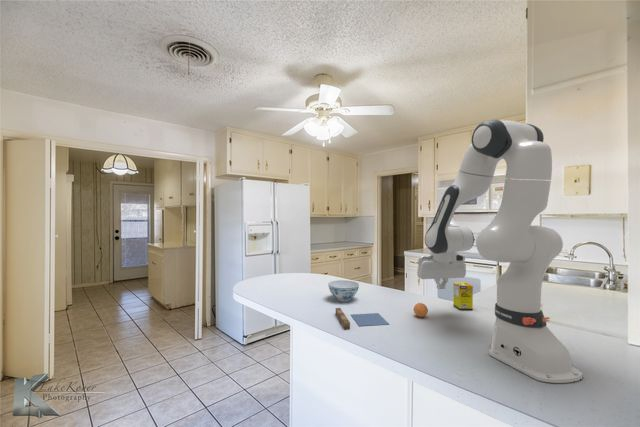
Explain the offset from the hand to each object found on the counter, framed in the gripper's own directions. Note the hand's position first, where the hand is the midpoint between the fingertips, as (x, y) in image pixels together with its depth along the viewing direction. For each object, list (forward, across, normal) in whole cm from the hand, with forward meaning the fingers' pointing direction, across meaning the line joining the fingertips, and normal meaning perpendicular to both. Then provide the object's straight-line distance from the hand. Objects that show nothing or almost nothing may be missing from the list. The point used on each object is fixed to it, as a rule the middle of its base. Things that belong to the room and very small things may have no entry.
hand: (441, 288), depth 120 cm
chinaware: (+12, -35, +26) cm, 46 cm away
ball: (+8, -9, -1) cm, 13 cm away
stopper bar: (+11, -42, -1) cm, 44 cm away
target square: (+11, -31, -1) cm, 33 cm away
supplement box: (+11, +15, +6) cm, 19 cm away
